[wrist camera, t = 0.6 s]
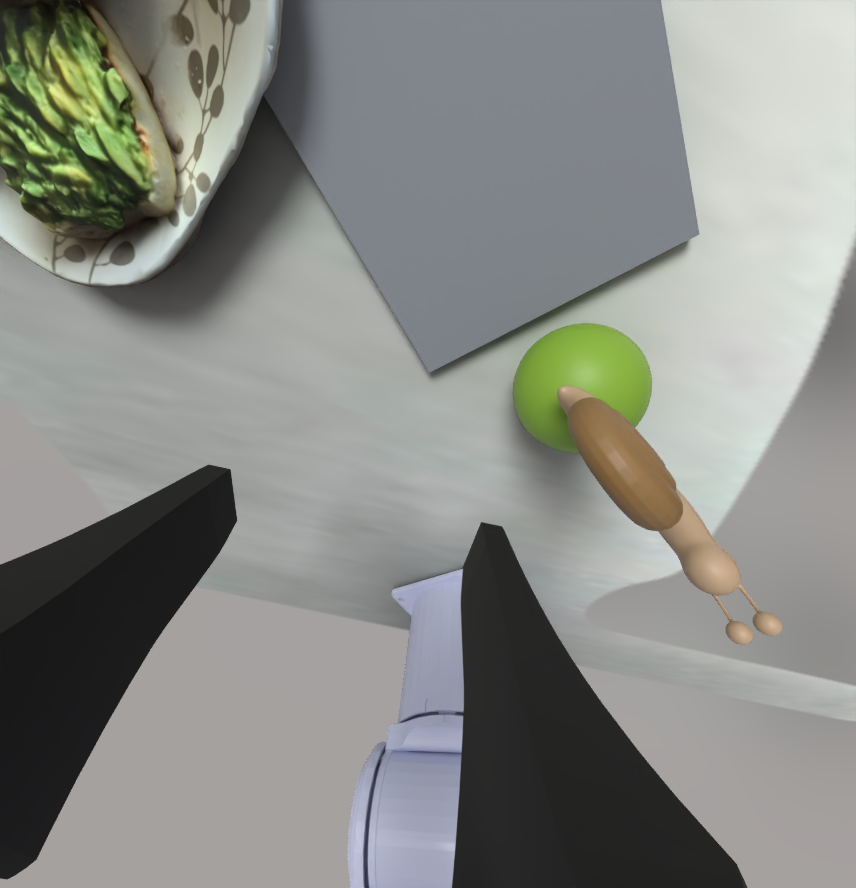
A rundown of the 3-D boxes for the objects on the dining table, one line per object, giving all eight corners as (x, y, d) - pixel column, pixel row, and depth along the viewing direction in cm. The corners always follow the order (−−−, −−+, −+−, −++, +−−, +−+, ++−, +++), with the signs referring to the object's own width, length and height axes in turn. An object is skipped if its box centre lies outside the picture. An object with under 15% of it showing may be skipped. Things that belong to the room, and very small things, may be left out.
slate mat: (691, 233, 14) (699, 234, 14) (430, 368, 18) (429, 372, 18) (567, -472, 8) (575, -519, 7) (201, -19, 12) (190, -29, 11)
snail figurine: (563, 443, 20) (660, 675, 10) (484, 367, 18) (509, 566, 8) (656, 378, 18) (903, 601, 8) (576, 282, 16) (773, 417, 6)
